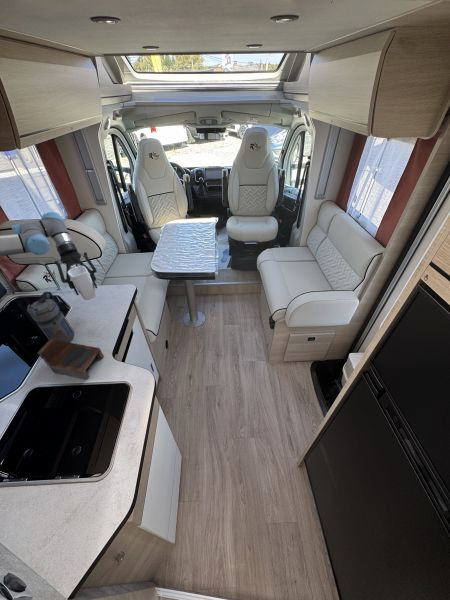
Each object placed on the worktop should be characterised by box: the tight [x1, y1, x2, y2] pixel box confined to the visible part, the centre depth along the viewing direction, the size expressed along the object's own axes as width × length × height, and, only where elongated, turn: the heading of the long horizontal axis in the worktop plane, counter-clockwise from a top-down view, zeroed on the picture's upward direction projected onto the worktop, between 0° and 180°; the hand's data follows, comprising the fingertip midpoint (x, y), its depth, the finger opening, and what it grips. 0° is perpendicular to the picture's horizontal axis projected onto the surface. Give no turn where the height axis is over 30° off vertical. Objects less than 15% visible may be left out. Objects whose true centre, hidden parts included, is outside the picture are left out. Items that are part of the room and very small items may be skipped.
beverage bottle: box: [26, 291, 75, 343], centre depth 113 cm, size 10×13×25 cm
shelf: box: [37, 330, 105, 381], centre depth 105 cm, size 16×12×14 cm
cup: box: [68, 265, 98, 301], centre depth 117 cm, size 7×7×15 cm
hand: (87, 291), depth 116 cm, fingers closed on cup, 8 cm apart
